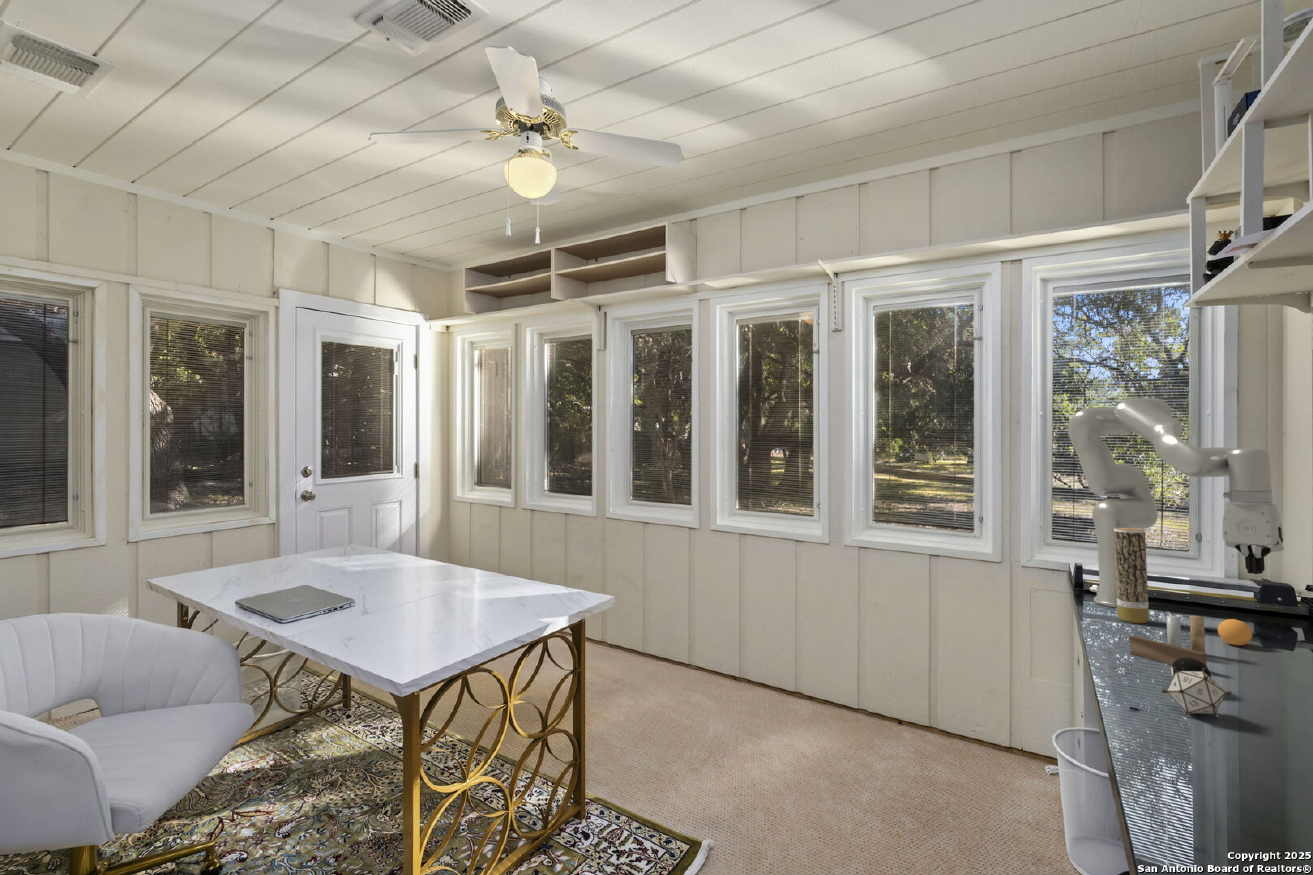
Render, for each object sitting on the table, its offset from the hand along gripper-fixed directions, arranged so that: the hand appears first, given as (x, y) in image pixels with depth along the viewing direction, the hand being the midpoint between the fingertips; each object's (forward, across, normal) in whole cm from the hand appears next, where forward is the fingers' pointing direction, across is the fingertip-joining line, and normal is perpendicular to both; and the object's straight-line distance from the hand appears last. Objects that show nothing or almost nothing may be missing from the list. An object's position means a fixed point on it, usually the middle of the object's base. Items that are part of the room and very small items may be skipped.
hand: (1255, 573), depth 150 cm
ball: (+13, 0, -9) cm, 16 cm away
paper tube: (+16, -23, -8) cm, 29 cm away
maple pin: (+16, 0, -24) cm, 29 cm away
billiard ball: (+17, +10, -49) cm, 52 cm away
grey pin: (+16, -3, -29) cm, 33 cm away
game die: (+17, +17, -61) cm, 66 cm away
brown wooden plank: (+16, 0, -36) cm, 40 cm away
